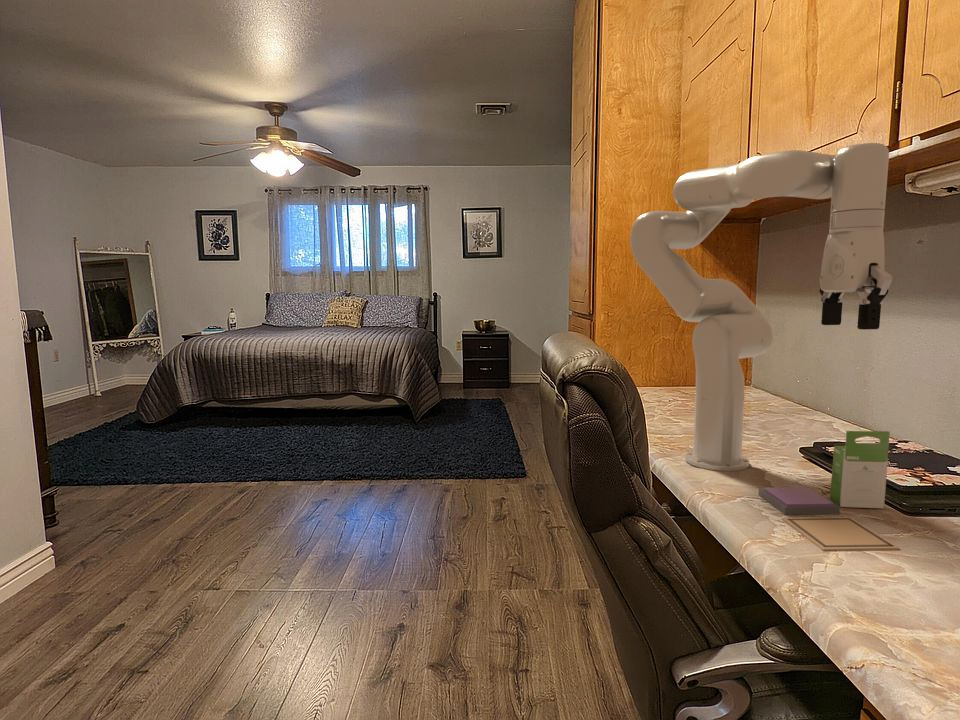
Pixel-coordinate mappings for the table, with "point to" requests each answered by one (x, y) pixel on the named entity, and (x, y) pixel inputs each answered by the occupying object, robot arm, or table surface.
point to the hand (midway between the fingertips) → (848, 326)
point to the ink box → (860, 471)
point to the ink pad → (798, 501)
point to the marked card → (839, 534)
